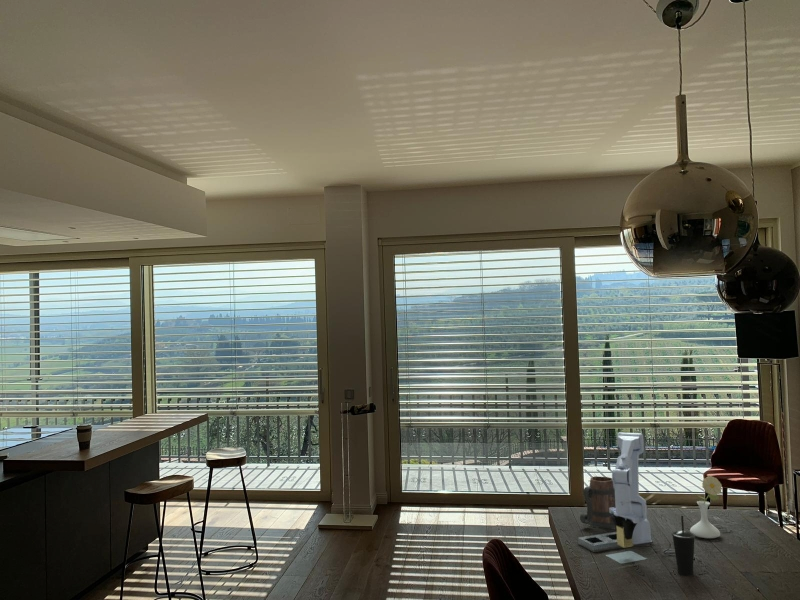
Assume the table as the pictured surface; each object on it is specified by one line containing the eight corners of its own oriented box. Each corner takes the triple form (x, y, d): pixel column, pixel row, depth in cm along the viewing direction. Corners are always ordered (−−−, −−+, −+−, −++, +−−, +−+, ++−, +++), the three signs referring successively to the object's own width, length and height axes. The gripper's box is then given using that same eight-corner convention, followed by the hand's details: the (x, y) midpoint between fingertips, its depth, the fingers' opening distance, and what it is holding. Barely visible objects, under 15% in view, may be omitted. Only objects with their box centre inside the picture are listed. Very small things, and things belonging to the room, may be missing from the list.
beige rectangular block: (625, 542, 224) (624, 524, 225) (633, 546, 221) (632, 527, 221) (617, 544, 223) (616, 525, 224) (624, 547, 219) (623, 528, 220)
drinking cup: (688, 579, 202) (684, 520, 203) (669, 571, 208) (665, 514, 210) (702, 574, 205) (698, 516, 206) (683, 567, 212) (679, 511, 213)
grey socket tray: (615, 539, 243) (614, 531, 243) (631, 547, 233) (631, 539, 233) (578, 545, 237) (577, 537, 237) (593, 553, 228) (593, 545, 228)
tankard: (600, 515, 275) (598, 472, 276) (632, 524, 261) (629, 479, 262) (567, 525, 262) (565, 480, 264) (598, 535, 248) (596, 487, 249)
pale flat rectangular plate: (630, 552, 228) (630, 550, 228) (647, 560, 219) (647, 558, 219) (605, 556, 224) (605, 555, 224) (621, 565, 215) (620, 563, 215)
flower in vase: (691, 539, 240) (687, 477, 242) (689, 530, 251) (685, 471, 252) (727, 542, 235) (723, 479, 237) (723, 533, 246) (719, 473, 247)
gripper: (602, 497, 229) (604, 532, 228) (627, 507, 215) (629, 544, 214) (617, 495, 231) (618, 530, 230) (642, 504, 217) (644, 542, 216)
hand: (624, 537), depth 222 cm, fingers closed on beige rectangular block, 4 cm apart
